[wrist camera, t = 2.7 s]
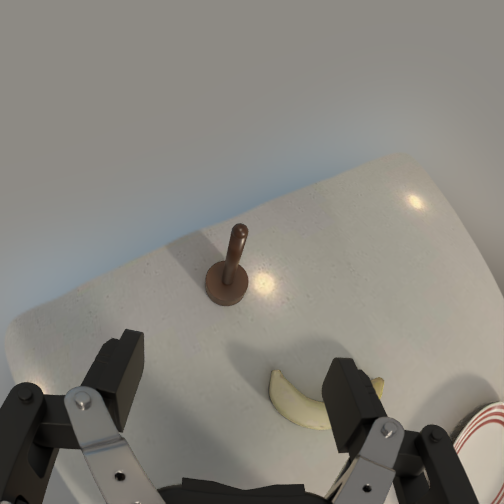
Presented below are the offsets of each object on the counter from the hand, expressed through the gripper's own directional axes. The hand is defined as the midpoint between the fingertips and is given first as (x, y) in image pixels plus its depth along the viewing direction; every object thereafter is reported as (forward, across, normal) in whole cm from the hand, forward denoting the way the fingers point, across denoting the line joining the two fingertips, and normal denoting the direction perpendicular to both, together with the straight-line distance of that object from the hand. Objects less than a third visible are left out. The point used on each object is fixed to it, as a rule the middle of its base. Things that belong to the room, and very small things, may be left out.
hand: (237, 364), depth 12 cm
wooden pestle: (+26, 0, +10) cm, 28 cm away
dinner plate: (+5, -47, +31) cm, 57 cm away
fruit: (+17, -14, +19) cm, 29 cm away
